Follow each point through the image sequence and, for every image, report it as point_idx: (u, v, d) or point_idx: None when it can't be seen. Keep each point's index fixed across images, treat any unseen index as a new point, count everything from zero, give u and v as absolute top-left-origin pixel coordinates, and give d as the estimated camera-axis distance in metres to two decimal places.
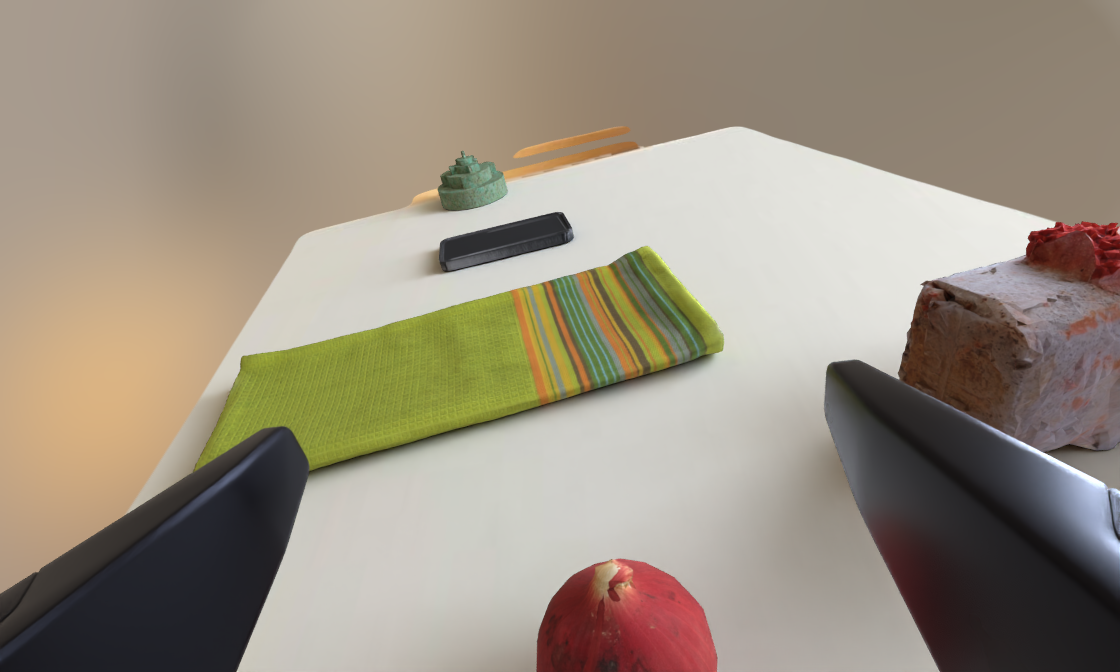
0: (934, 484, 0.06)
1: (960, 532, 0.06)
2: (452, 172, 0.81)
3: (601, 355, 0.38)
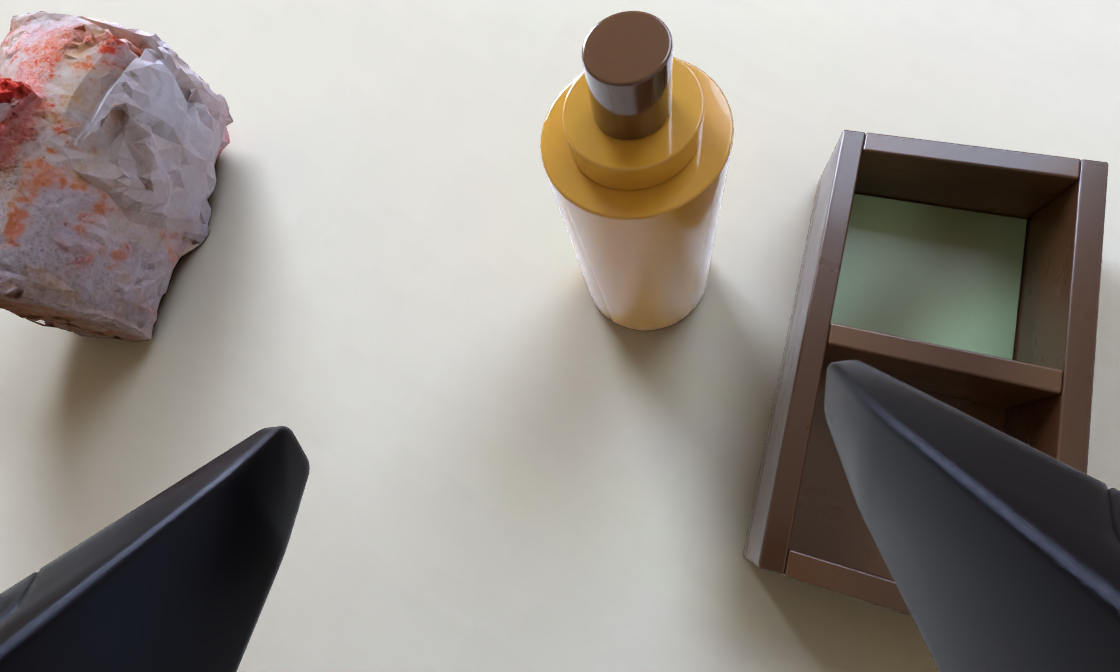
0: (934, 484, 0.06)
1: (960, 532, 0.06)
2: None
3: None
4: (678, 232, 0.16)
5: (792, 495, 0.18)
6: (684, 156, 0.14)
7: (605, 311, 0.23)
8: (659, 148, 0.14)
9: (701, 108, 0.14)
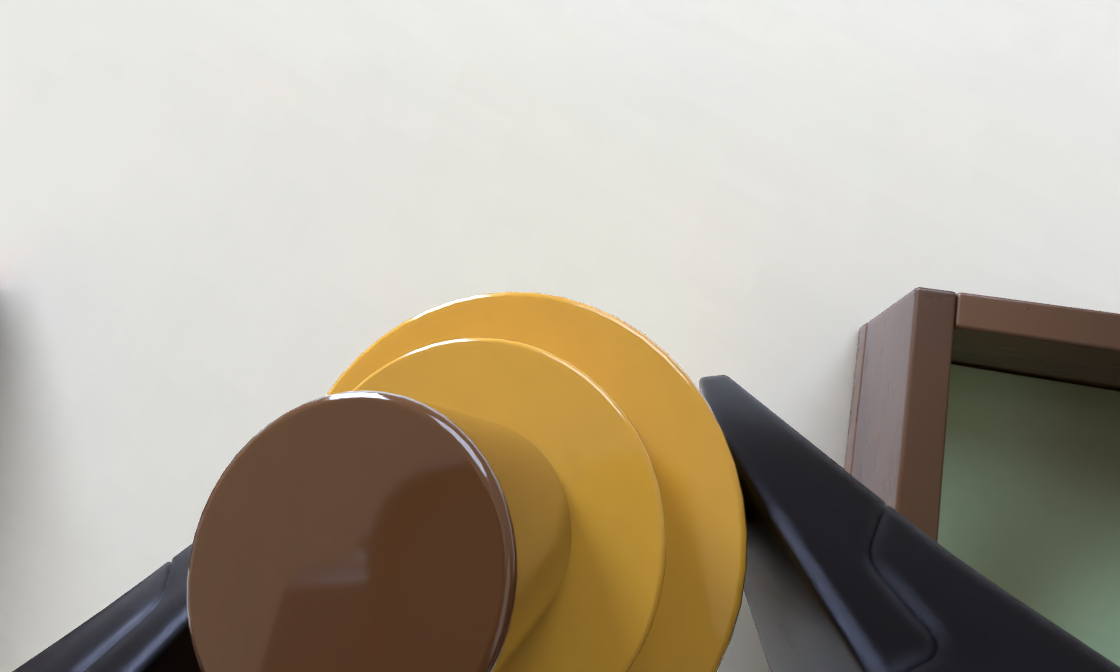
0: (750, 499, 0.06)
1: (766, 546, 0.06)
2: None
3: None
4: None
5: None
6: None
7: None
8: None
9: (657, 551, 0.05)
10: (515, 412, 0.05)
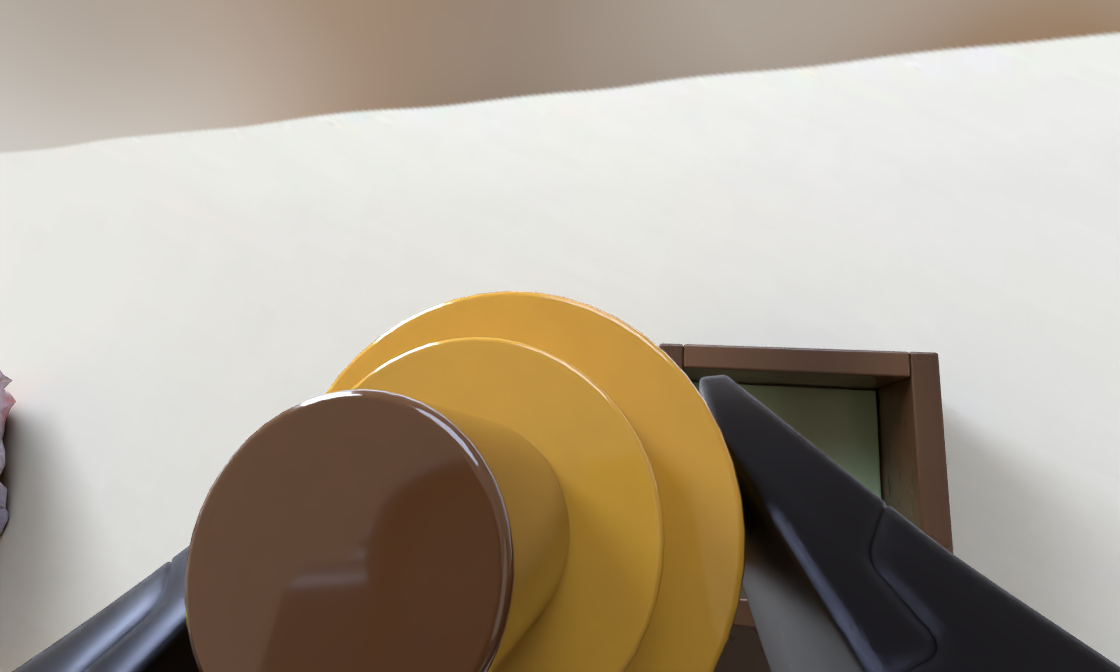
0: (749, 499, 0.06)
1: (765, 546, 0.06)
2: None
3: None
4: None
5: None
6: (615, 671, 0.05)
7: None
8: None
9: (654, 550, 0.05)
10: (513, 411, 0.05)
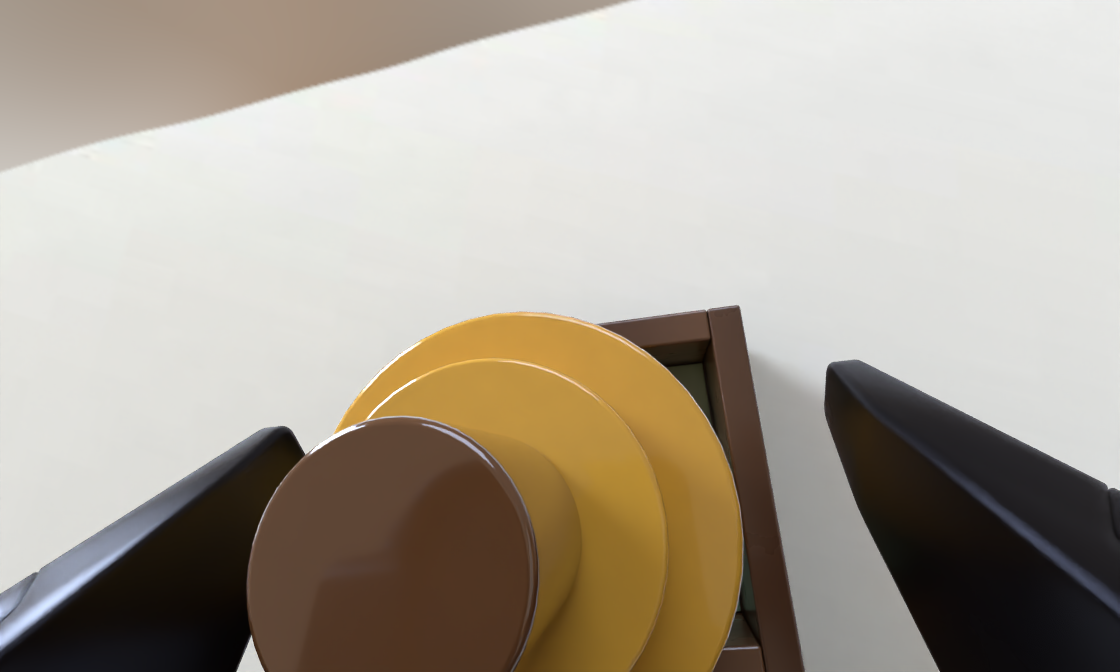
0: (934, 484, 0.06)
1: (960, 532, 0.06)
2: None
3: None
4: None
5: None
6: None
7: None
8: None
9: (660, 556, 0.05)
10: (529, 427, 0.06)
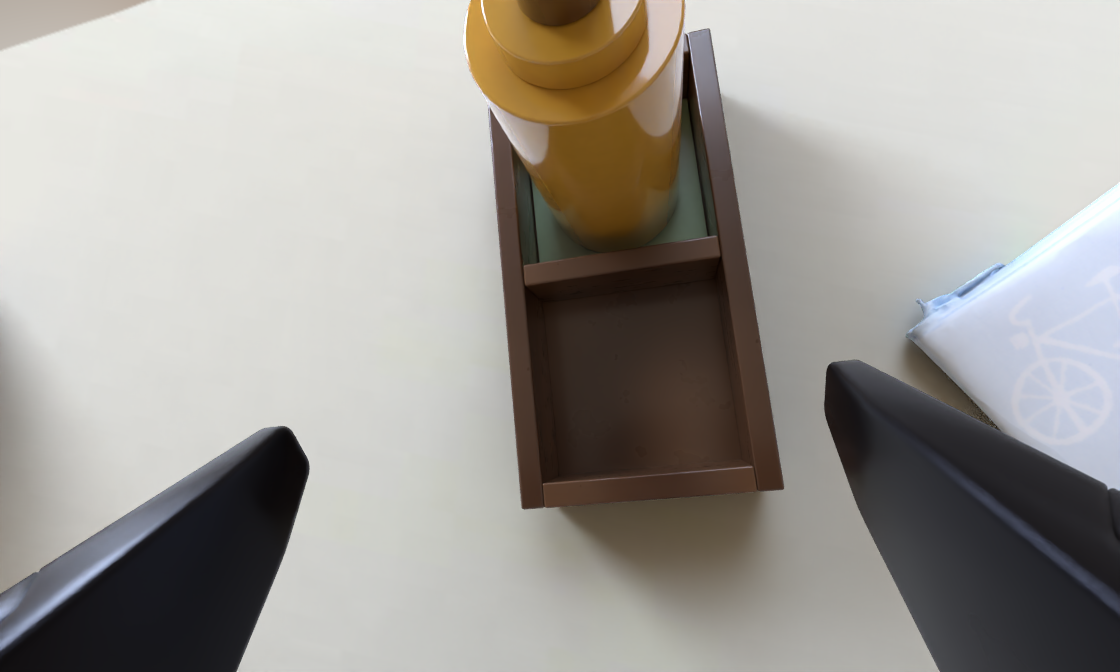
0: (934, 484, 0.06)
1: (960, 532, 0.06)
2: None
3: None
4: (631, 135, 0.14)
5: (532, 435, 0.19)
6: (627, 40, 0.12)
7: (571, 236, 0.22)
8: (595, 33, 0.11)
9: None
10: None
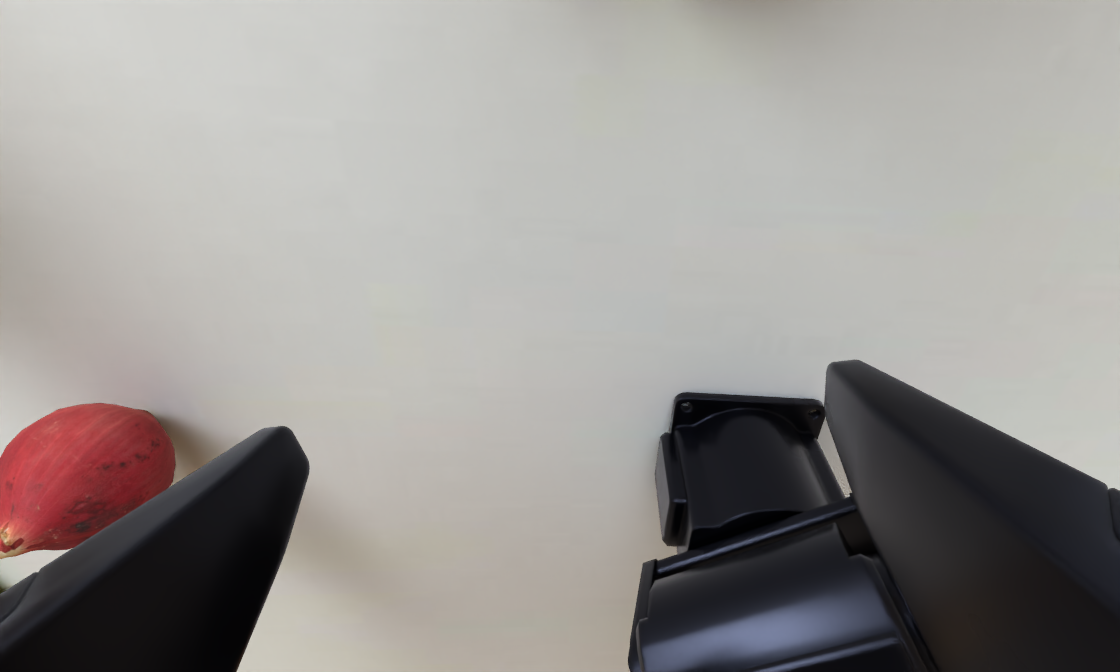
0: (934, 484, 0.06)
1: (960, 532, 0.06)
2: None
3: None
4: None
5: None
6: None
7: None
8: None
9: None
10: None
